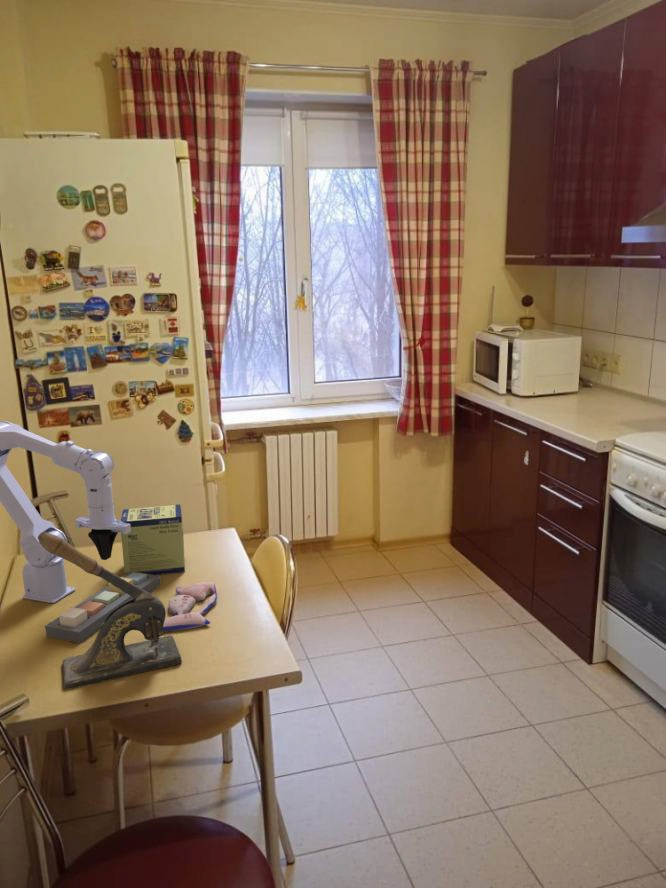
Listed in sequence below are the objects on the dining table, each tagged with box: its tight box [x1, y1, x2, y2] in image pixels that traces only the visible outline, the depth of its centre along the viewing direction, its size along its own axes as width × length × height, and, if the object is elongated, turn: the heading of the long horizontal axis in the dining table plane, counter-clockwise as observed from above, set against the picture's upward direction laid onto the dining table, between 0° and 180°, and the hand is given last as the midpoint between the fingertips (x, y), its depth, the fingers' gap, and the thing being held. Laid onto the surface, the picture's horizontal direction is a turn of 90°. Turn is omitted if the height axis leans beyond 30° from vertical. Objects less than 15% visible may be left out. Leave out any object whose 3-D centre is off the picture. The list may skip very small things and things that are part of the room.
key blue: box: [125, 572, 147, 585], centre depth 173 cm, size 4×4×3 cm
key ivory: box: [58, 606, 88, 628], centre depth 152 cm, size 4×4×3 cm
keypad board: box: [44, 571, 161, 644], centre depth 163 cm, size 9×30×2 cm, turn 160°
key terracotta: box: [79, 601, 104, 616], centre depth 158 cm, size 4×4×3 cm
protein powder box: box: [120, 504, 186, 576], centre depth 184 cm, size 10×16×16 cm
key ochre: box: [108, 576, 133, 595], centre depth 168 cm, size 4×4×3 cm
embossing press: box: [38, 532, 183, 690], centre depth 136 cm, size 11×24×30 cm, turn 109°
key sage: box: [94, 591, 119, 605], centre depth 163 cm, size 4×4×3 cm
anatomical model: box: [163, 581, 218, 633], centre depth 162 cm, size 20×3×15 cm
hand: (106, 558), depth 167 cm, fingers closed
